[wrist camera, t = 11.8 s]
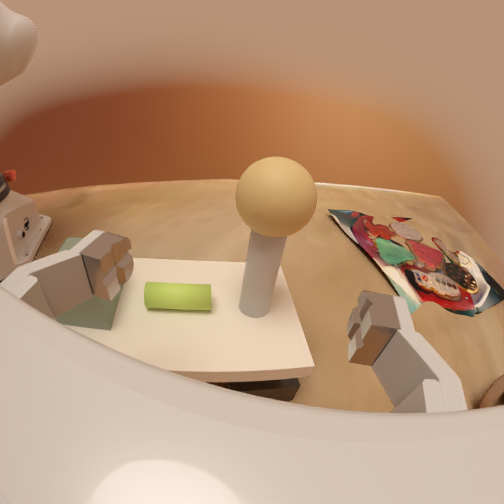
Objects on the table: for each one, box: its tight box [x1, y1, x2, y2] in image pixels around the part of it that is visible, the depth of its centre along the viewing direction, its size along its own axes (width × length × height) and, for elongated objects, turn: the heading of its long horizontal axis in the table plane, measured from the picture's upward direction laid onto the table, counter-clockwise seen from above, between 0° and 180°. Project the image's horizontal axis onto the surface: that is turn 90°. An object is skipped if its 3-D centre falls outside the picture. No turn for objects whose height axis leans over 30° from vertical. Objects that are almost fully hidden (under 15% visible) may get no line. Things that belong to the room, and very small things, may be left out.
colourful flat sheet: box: [328, 209, 504, 317], centre depth 49 cm, size 35×35×2 cm
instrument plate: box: [55, 157, 317, 382], centre depth 18 cm, size 20×12×14 cm, turn 97°
